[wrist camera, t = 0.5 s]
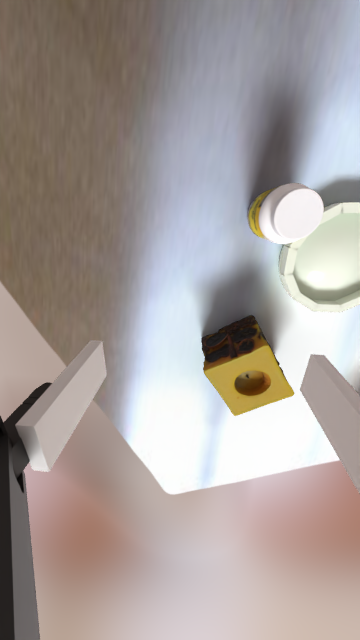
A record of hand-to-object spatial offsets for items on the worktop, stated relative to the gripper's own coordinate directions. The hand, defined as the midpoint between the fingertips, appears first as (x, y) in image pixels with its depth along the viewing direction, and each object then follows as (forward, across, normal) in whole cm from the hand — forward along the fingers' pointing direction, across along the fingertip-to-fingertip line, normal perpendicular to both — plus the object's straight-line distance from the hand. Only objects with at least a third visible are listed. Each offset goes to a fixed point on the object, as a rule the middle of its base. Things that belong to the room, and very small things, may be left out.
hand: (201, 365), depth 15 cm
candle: (+25, +8, -13) cm, 29 cm away
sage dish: (+24, +19, +3) cm, 31 cm away
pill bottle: (+24, +9, +9) cm, 28 cm away
